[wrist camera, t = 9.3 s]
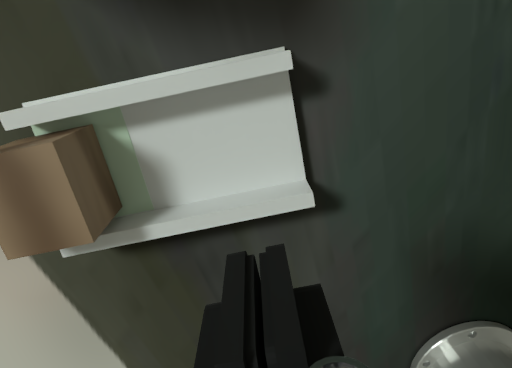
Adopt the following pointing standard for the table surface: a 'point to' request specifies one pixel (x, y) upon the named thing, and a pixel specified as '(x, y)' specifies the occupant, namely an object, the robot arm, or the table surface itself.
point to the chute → (188, 145)
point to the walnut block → (54, 192)
